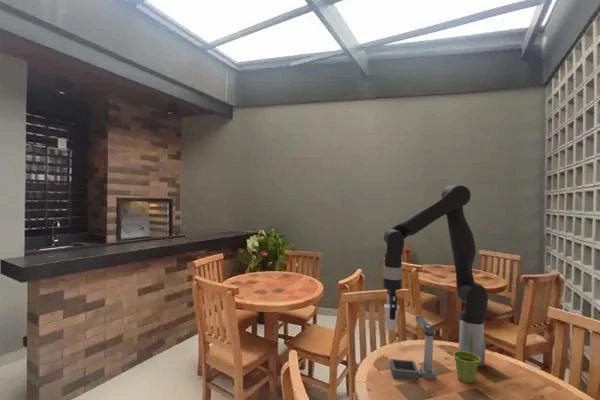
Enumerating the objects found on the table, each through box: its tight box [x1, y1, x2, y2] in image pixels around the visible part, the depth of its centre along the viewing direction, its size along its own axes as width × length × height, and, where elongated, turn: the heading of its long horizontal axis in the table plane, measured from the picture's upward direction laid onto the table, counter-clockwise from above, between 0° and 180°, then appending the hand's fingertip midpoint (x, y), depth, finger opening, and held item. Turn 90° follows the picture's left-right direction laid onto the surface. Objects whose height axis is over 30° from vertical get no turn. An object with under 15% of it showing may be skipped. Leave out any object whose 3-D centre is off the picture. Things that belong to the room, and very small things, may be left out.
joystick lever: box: [414, 314, 435, 337], centre depth 140 cm, size 16×4×3 cm, turn 178°
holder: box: [389, 334, 437, 381], centre depth 135 cm, size 16×9×16 cm, turn 82°
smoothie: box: [383, 303, 400, 331], centre depth 147 cm, size 6×6×14 cm
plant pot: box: [452, 350, 481, 384], centre depth 132 cm, size 9×9×9 cm
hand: (391, 316), depth 147 cm, fingers closed on smoothie, 6 cm apart
